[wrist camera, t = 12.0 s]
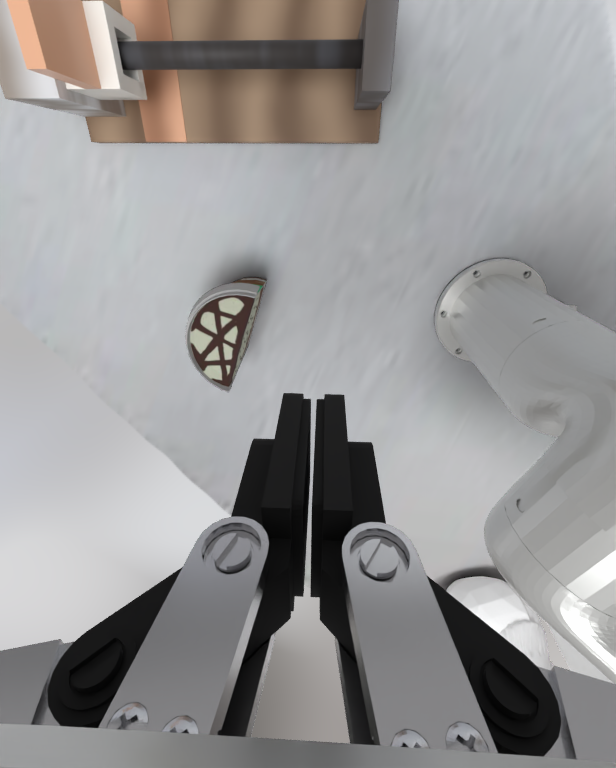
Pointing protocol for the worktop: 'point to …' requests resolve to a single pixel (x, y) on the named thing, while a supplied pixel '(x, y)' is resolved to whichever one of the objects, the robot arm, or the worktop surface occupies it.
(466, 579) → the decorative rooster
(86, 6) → the sleeve
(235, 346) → the food container
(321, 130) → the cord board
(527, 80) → the worktop surface
